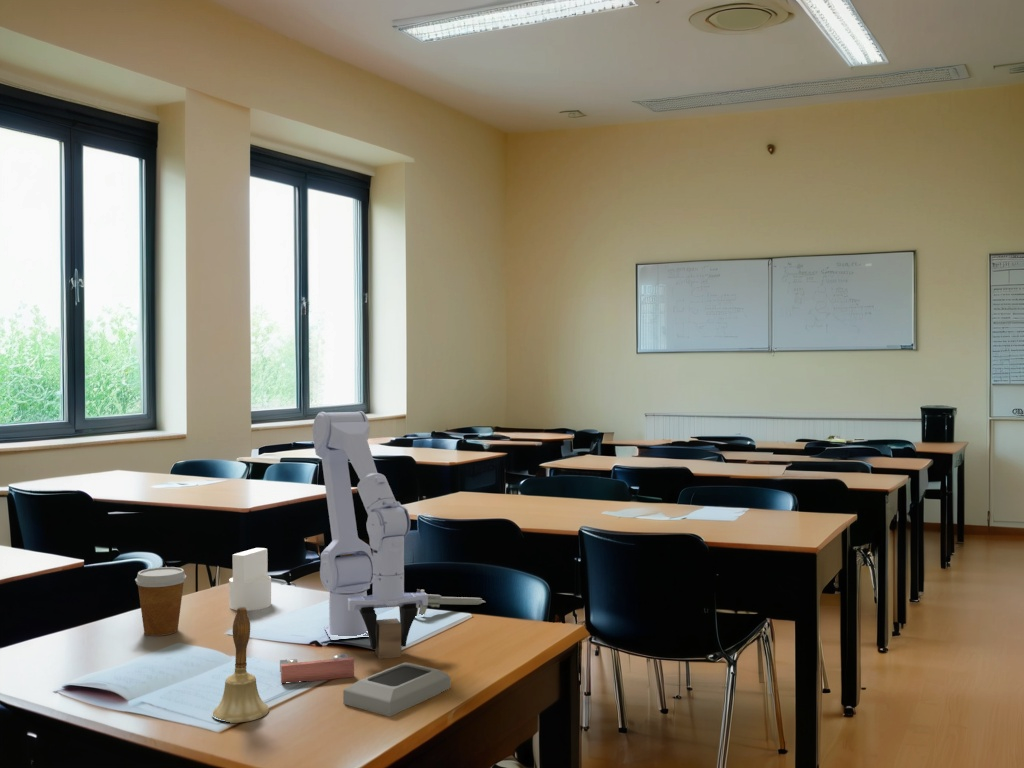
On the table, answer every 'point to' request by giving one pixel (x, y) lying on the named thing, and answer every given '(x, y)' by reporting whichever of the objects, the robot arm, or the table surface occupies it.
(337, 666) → the block
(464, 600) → the caliper
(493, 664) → the table surface
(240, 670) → the hand bell
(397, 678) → the bevelled grey desktop device
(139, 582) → the disposable coffee cup
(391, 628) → the block
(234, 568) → the cylinder with rectangular tab
